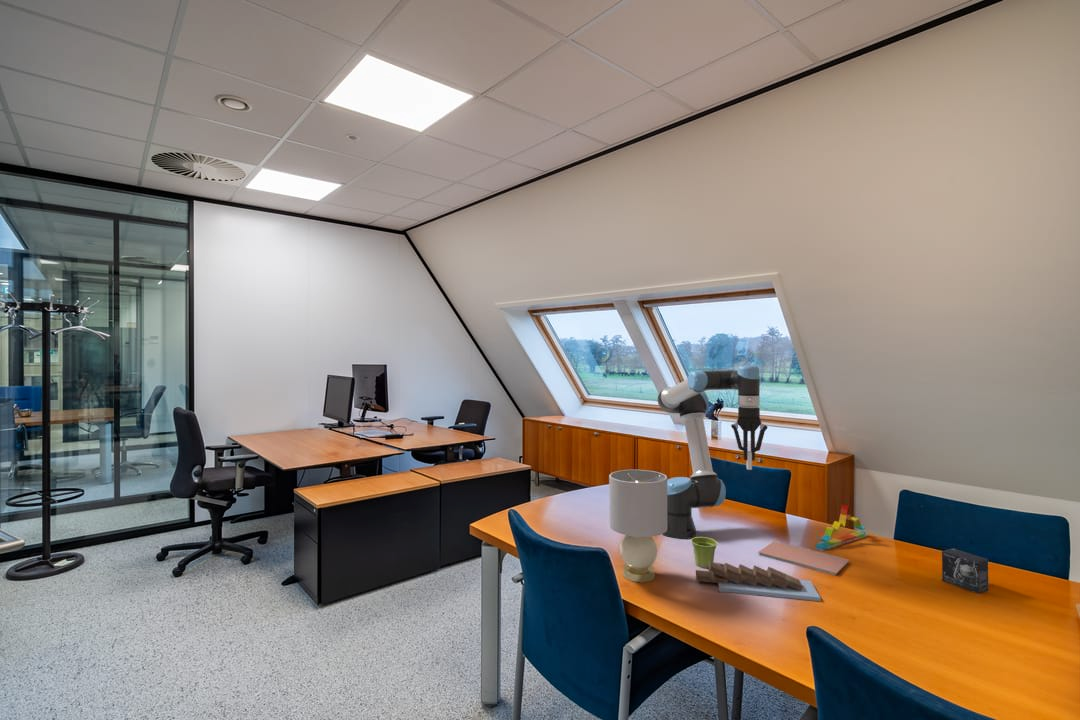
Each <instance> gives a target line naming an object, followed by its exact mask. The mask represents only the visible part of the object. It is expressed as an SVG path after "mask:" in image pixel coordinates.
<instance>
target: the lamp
mask: <svg viewBox="0 0 1080 720" xmlns="http://www.w3.org/2000/svg"><path fill="white" fill-rule="evenodd" d="M667 480H668V477H667V475H666V474H664V473H662V472H658V471H653V470H647V469H646V470H645V469H623V470H622V469H621V470H617V471H613V472H611V473H610V474H609V475H608V481H609V483H608V484H609V485H608V486H609V528H610V529H611V530H612V531H613V532H616V533H618V534H621V535H624V537H623V538H622V540H621V542H620V545H619V552H620V555H621V558H622V560H623V562H624V563H625V564H624V565H623V568H622V569H623V570H622V572H623V574H622V575H623V577H624V578H625V579H627V580H628V581H631V582H635V583H647V582H651V581H652V580H654V579H655V575H656V574H655V573H656V571H655V568H654V567H653V564H655V562H656V560H657V557H658V547H657V544H656V541H655V540H654V538H653V537H656V536H662V535H663V533H665V532H666V531H667Z"/></svg>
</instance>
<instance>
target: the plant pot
mask: <svg viewBox="0 0 1080 720" xmlns="http://www.w3.org/2000/svg"><path fill="white" fill-rule="evenodd" d="M690 542H691V545H692V547H693V554H694V562H695V563H694V564H695V565H696V566H698V567H700V568H705V569H706V568H707V569H709V567H708V564H709V561H712V562H714V558H715V552H716V549H717V546H718V541H717V540H715V539H713V538H711V537H705V536H696V537H695V536H694V537H691V540H690Z"/></svg>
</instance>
